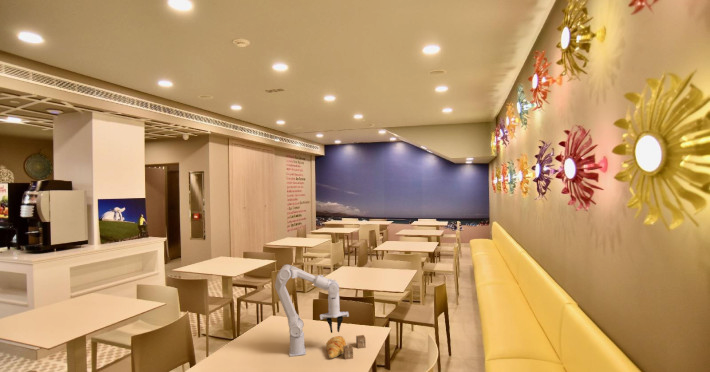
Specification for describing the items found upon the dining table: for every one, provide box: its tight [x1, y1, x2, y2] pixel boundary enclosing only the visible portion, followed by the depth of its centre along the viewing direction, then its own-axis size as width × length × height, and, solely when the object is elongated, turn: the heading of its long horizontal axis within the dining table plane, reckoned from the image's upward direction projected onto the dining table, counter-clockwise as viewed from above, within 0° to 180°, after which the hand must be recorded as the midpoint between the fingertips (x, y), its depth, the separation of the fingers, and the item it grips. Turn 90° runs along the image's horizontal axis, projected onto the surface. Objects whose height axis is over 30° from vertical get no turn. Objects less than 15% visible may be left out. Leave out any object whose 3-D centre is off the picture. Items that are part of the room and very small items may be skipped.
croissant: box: [325, 335, 347, 359], centre depth 186 cm, size 21×10×8 cm, turn 170°
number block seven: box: [355, 334, 366, 349], centre depth 190 cm, size 4×4×5 cm
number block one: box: [343, 344, 354, 361], centre depth 178 cm, size 4×4×5 cm
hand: (334, 331), depth 186 cm, fingers open, 3 cm apart
